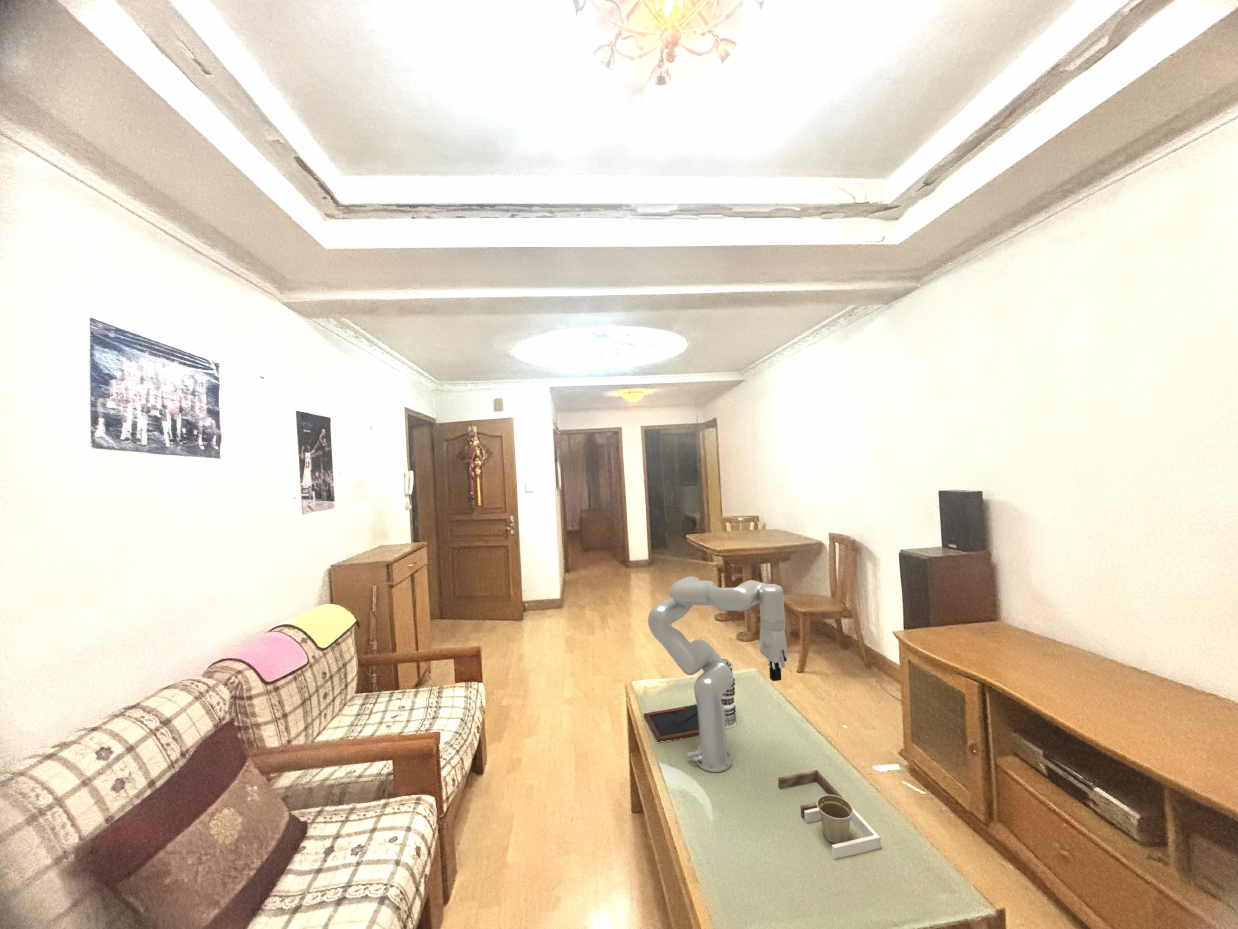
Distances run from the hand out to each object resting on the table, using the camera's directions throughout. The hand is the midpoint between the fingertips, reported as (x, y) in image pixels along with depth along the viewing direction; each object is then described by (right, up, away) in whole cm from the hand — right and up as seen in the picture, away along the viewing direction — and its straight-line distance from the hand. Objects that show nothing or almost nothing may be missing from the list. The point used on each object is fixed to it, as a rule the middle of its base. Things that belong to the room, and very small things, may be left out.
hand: (775, 679), depth 156 cm
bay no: (+9, -35, -5) cm, 36 cm away
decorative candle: (-8, -35, +39) cm, 53 cm away
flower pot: (+10, -35, -21) cm, 42 cm away
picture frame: (-26, -37, +40) cm, 61 cm away
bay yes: (+12, -35, -20) cm, 42 cm away
